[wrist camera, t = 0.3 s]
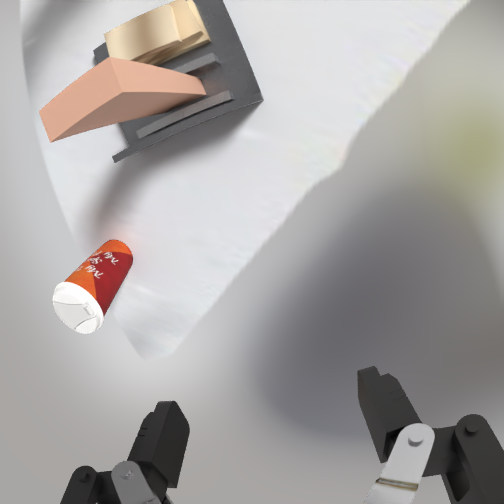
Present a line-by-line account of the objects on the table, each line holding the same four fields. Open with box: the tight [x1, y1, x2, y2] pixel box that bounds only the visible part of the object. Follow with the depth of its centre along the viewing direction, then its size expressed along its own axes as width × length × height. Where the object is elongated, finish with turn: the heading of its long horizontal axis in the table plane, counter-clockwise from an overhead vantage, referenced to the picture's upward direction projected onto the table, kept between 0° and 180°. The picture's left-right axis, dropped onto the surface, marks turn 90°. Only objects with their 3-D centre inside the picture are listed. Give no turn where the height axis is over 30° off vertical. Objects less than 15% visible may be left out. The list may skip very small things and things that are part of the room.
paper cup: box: [53, 240, 133, 334], centre depth 35 cm, size 8×8×14 cm
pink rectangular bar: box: [39, 57, 206, 143], centre depth 20 cm, size 6×2×20 cm, turn 109°
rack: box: [93, 0, 264, 163], centre depth 25 cm, size 17×16×6 cm
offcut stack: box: [104, 0, 211, 66], centre depth 23 cm, size 11×6×5 cm, turn 109°
